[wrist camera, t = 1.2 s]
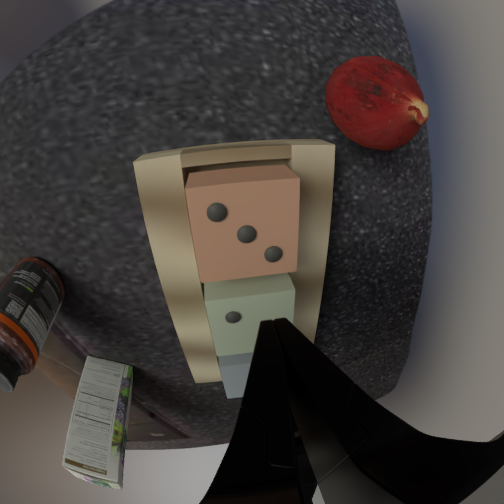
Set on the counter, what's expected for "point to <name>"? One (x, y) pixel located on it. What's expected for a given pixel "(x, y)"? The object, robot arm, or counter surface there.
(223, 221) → the tile three pip
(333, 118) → the onion
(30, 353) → the supplement bottle
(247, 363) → the single dot cube
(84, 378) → the syrup box
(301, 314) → the tile tray
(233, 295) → the tile two pip
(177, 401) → the counter surface
